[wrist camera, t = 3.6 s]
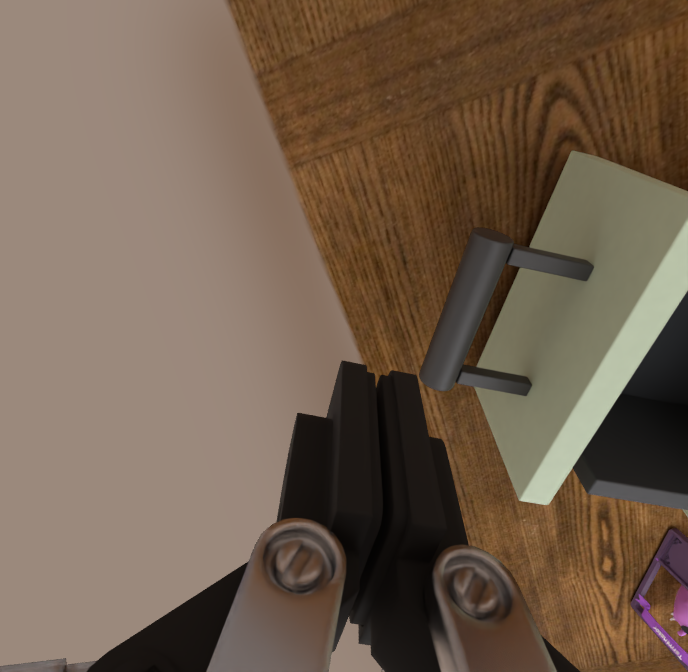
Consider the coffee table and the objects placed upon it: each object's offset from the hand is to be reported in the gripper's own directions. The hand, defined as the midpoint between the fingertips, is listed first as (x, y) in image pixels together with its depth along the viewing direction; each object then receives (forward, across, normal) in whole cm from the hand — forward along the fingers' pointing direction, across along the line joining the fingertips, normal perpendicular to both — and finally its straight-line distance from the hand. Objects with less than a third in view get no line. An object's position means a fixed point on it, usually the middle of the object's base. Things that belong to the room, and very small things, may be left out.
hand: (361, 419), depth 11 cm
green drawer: (+12, -12, 0) cm, 17 cm away
